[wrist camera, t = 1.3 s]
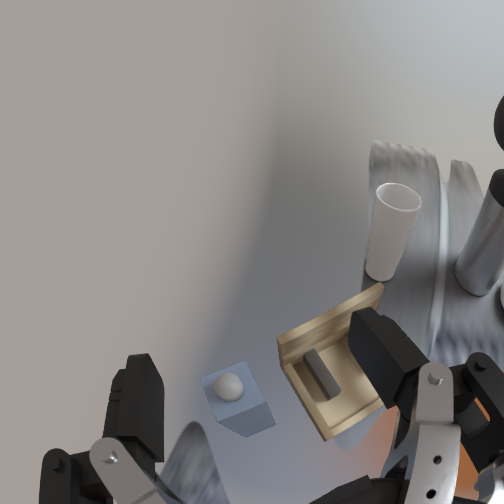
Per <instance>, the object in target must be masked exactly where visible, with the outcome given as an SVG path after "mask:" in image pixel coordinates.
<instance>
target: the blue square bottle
mask: <svg viewBox="0 0 504 504" xmlns="http://www.w3.org/2000/svg"><path fill="white" fill-rule="evenodd" d="M200 380H201V383H202V386H203V388H204V391H205V393H206V396H207V399H208V401H209V403H210V406H211V408H212V411H213V413H214V416H215V418H216V420H217V422H219V423H220V424H222V425H224V426H226V427H228V428H229V429H231V430H233V431H235V432H237V433H239V434H241V435H243V436H245V437H248V436H251V435H253V434H255V433H258V432H260V431H263V430H265V429H267V428H270V427H272V426H274V425H276V423H275V421H274V419H273V417H272V414H271V412H270V410H269V407H268V405H267V403H266V401H265V399H264V397H263V395H262V393H261V391H260V389H259V387H258V385H257V383H256V381H255V379H254V377H253V375H252V373H251V371H250V369H249V367H248V365H247V363H246V361H245V360H243V361H241V362H238V363H236V364H234V365H231V366H229V367H227V368H224V369H222V370H219V371H217V372H214V373H212V374H209V375H207V376H204V377H202V378H200Z"/></svg>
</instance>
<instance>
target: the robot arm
mask: <svg viewBox="0 0 504 504" xmlns="http://www.w3.org/2000/svg"><path fill="white" fill-rule="evenodd" d="M494 133H495V137H496V140H497V142H498V144H499V145H500V147H501V148H502V149H503V150H504V96H503V98H502V99H501V101H500V102H499V104H498V107H497V109H496V112H495V118H494ZM503 271H504V169H499V170H497V171H495V172H494V173H493V176H492V178H491V181H490V184H489V187H488V190H487V193H486V196H485V198H484V201H483V204H482V207H481V209H480V212H479V214H478V217H477V219H476V222H475V224H474V226H473V229H472V231H471V233H470V235H469V237H468V240H467V242H466V244H465V246H464V248H463V250H462V252H461V254H460V256H459V258H458V260H457V262H456V264H455V275H456V277H457V280H458V281H459V283H460V284H461V285H462V287H463V288H464V289H465V290H467V291H468V292H470V293H471V294H474V295H477V296H483V295H486V294H487V293H488V292H489V291H490V290H491V288H492V287H493V286H494V284H495V283H496V281H497V280H498V278H499V277H500V276H501V274H502V272H503ZM348 346H349V349H350V351H351V353H352V355H353V356H354V358H355V359H356V361H357V362H358V364H359V365H360V367H361V369H362V370H363V372H364V373H365V375H366V376H367V378H368V380H369V381H370V383H371V384H372V386H373V387H374V389H375V391H376V392H377V394H378V395H379V397H380V399H381V400H382V402H383V403H384V405H385V407H386V408H387V409H389V408H392V407H394V406H396V405H397V407H398V408H399V411H398V414H397V419H396V425H395V431H394V436H393V441H392V445H391V449H390V453H389V455H388V457H387V459H386V461H385V464H384V466H383V469H382V472H381V476H380V478H373V479H369V477H368V475H366V476H364V477H361V478H359V479H357V480H354V481H352V482H349V483H347V484H344V485H342V486H339V487H337V488H335V489H334V490H332V491H330V492H329V493H327V494H325V495H323V496H322V497H320V498H318V499H316V500H315V501H313V502H311V503H309V504H504V373H503V372H502V371H501V370H500V368H499V367H498V366H497V365H496V364H495V362H494V361H493V360H492V359H491V358H490V357H489V356H488V355H486V354H484V353H481V352H476V353H473V354H471V355H470V356H469V358H468V360H467V361H466V363H465V364H462V365H457V366H453V367H447V366H446V365H444V364H442V363H440V362H430V361H429V360H428V359H427V358H426V357H425V355H424V354H423V353H422V352H421V351H420V350H419V348H418V347H417V346H416V345H415V344H414V343H413V342H412V340H411V339H410V338H409V337H407V335H406V334H405V332H404V331H403V330H401V328H400V327H399V326H398V325H397V324H396V322H395V321H394V320H392V319H390V318H388V317H386V316H385V315H381V316H379V315H378V314H377V312H376V311H375V310H374V309H373V308H372V307H366V308H363V309H359V310H356V311H353V312H352V314H351V320H350V327H349V334H348ZM476 397H477V398H478V400H479V401H480V403H481V404H482V405H483V407H484V408H485V410H486V411H487V413H488V414H489V417H490V422H489V421H488V420H487V418H486V417H485V416H484V414H483V412H482V411H481V410H480V408H479V407H478V405H477V404H476V402H475V401H474V400H475V399H476ZM460 441H461V443H462V444H463V446H464V448H465V450H466V451H467V453H468V455H469V457H470V459H471V461H472V462H473V464H474V466H475V468H476V470H477V472H478V474H479V476H478V480H477V482H476V483H475V485H474V489H475V490H476V491H479V498H478V501H475V500H471V499H465V498H461V497H457V496H453V495H454V489H455V483H456V477H457V470H458V461H459V452H460ZM155 462H164V385H163V381H162V378H161V376H160V374H159V372H158V371H157V369H156V367H155V365H154V363H153V361H152V359H151V357H150V356H149V354H147V353H146V354H138V355H130V356H128V359H127V364H126V369H120V370H119V371H118V372H117V374H116V376H115V377H114V379H113V381H112V386H111V393H110V396H109V403H108V407H107V413H106V419H105V426H104V431H103V436H102V439H99V440H98V441H96V442H95V443H94V444H93V445H92V447H91V449H90V450H89V451H86V452H82V453H77V454H72V455H69V454H68V453H66V452H65V451H64V450H62V449H58V448H57V449H56V448H55V449H52V450H50V451H48V452H47V453H46V454H45V456H44V458H43V462H42V470H41V479H40V491H39V504H113V498H114V499H115V501H116V502H117V503H118V504H186V503H185V502H184V501H183V500H182V499H181V498H180V497H179V496H178V495H177V494H176V493H175V492H174V491H173V490H172V489H171V488H170V487H169V486H168V485H167V484H166V483H165V482H164V480H163V479H162V478H161V477H160V476H159V475H158V474H157V473H156V472H155Z"/></svg>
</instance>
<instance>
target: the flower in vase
mask: <svg viewBox="0 0 504 504" xmlns="http://www.w3.org/2000/svg"><path fill="white" fill-rule="evenodd" d="M501 302H502V306H503V309H504V282H503V284H502V286H501Z"/></svg>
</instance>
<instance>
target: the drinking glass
mask: <svg viewBox="0 0 504 504" xmlns="http://www.w3.org/2000/svg"><path fill="white" fill-rule="evenodd" d="M421 205H422V201H421V198H420V197H419V195H418V194H417V193H416V192H415V191H414V190H412V189H410V188H409V187H407V186H404V185H401V184H396V183H386V184H383V185H380V186H379V187H378V188H377V190H376V194H375V198H374V203H373V209H372V216H371V226H370V237H369V246H368V254H367V260H366V264H365V269H366V272H367V274H368V275H369V276H370V277H371V278H372V279H374V280H376V281H387V280H390V279H391V278H392V277H393V276H394V274H395V271H396V269H397V266H398V264H399V262H400V260H401V258H402V256H403V254H404V252H405V250H406V248H407V245H408V243H409V241H410V239H411V237H412V234H413V232H414V230H415V227H416V224H417V221H418V217H419V214H420V209H421Z"/></svg>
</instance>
